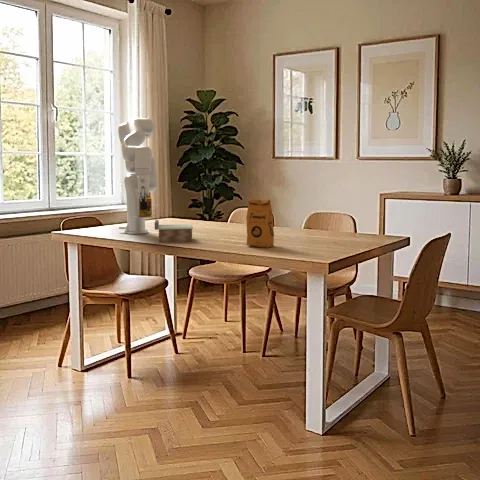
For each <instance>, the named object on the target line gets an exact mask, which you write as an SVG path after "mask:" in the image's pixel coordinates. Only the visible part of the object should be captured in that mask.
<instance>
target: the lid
mask: <svg viewBox="0 0 480 480" xmlns="http://www.w3.org/2000/svg"><path fill="white" fill-rule="evenodd" d="M159 223H160V220H159V219H155V221H154V230H157V231H159V230H167V229H192V230H193V224H189V223H188V224H159Z"/></svg>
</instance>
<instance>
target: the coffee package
mask: <svg viewBox="0 0 480 480" xmlns="http://www.w3.org/2000/svg"><path fill="white" fill-rule="evenodd" d="M272 209H273V208H272V204H271V199H270V198H269V199H257V198H249V199H248V206H247V210H246V211H247V212H246V218H245V219H246V246H250V247H254V248H266V249H270V248H272V247H274V246H275V244H274V243H275V238H274V237H275V234H274V233H275V231H274V217H273V210H272ZM269 247H270V248H269Z"/></svg>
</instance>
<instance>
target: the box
mask: <svg viewBox="0 0 480 480" xmlns="http://www.w3.org/2000/svg"><path fill="white" fill-rule="evenodd" d="M192 242H193V229H167V230H158V243H192Z"/></svg>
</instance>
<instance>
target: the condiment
mask: <svg viewBox="0 0 480 480" xmlns="http://www.w3.org/2000/svg"><path fill="white" fill-rule="evenodd" d="M140 194H141V193H140ZM141 195H142V194H141ZM144 195H145V194H144ZM151 196H152V195H151V191H150V192H149V196H148V195H147V194H146V202H147V210H140V202H141V196H140V198H139V215H138V216H135V217H145V218H152V217H154V215H153V213H152V212H153V210H152V197H151Z"/></svg>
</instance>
